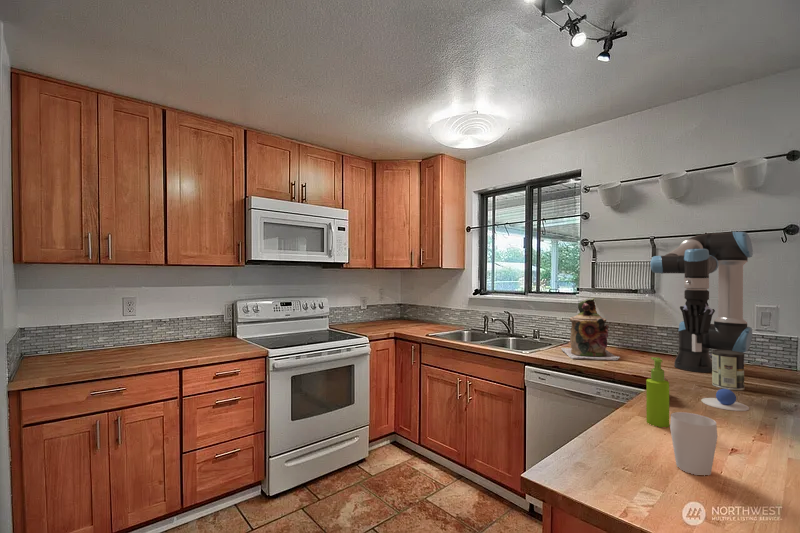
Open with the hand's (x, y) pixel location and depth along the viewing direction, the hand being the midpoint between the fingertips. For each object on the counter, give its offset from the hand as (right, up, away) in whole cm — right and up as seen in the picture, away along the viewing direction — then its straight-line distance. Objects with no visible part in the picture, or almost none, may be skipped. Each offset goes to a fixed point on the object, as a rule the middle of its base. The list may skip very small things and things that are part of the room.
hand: (696, 351), depth 149 cm
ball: (+2, -14, -11) cm, 18 cm away
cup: (-43, -16, -56) cm, 73 cm away
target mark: (+2, -16, -11) cm, 20 cm away
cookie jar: (-9, -17, +68) cm, 70 cm away
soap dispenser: (-33, -16, -28) cm, 47 cm away
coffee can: (+20, -17, +10) cm, 28 cm away
